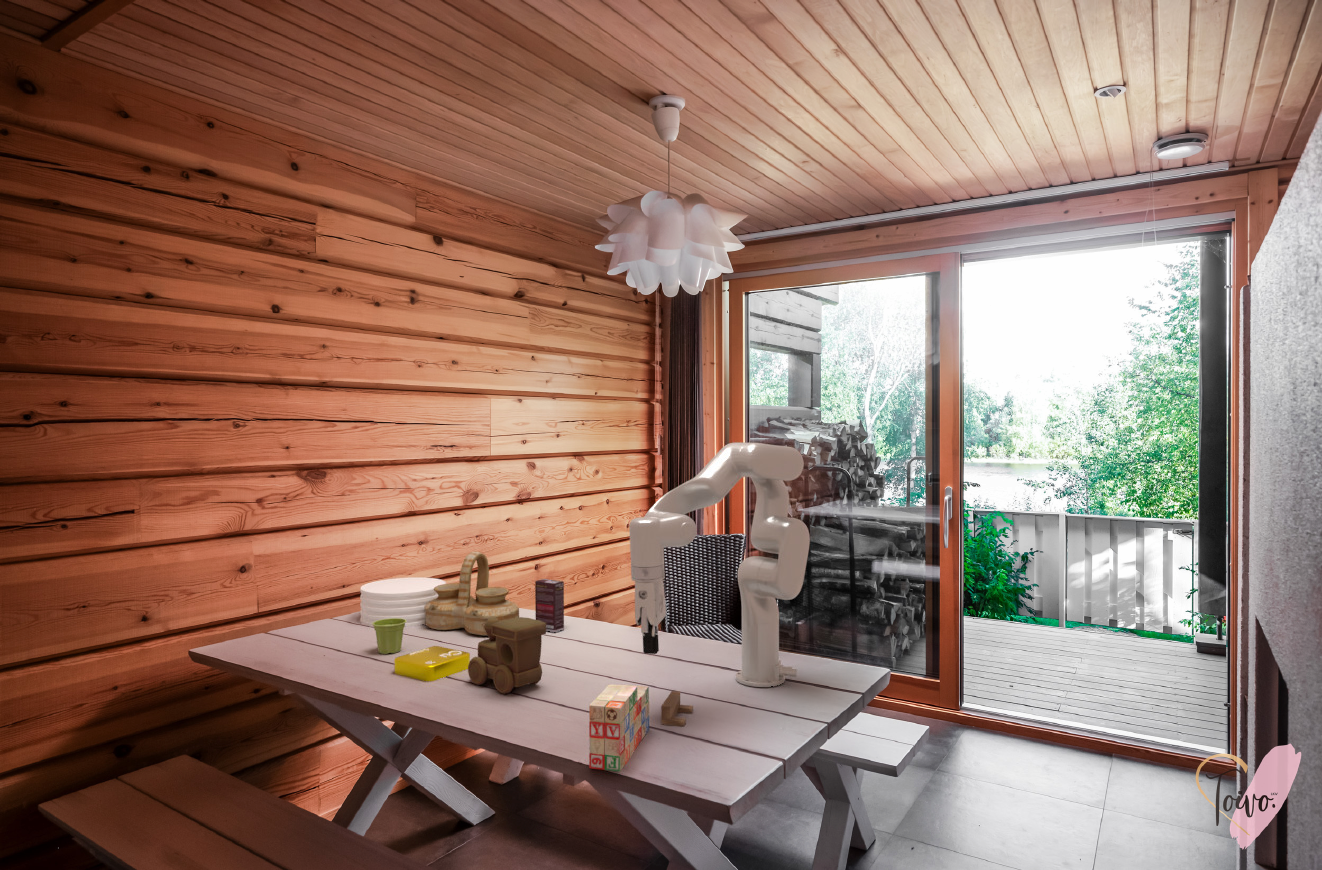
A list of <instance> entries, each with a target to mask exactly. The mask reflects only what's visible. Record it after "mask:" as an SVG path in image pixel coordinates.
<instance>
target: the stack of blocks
mask: <svg viewBox="0 0 1322 870" xmlns="http://www.w3.org/2000/svg"><path fill="white" fill-rule="evenodd" d="M649 691H650V689H649V686H646V685H645V686H644V685H630V684H612V683H611V684H608V685H607V686H606V687H605V688H604V689H603V691H602V692H601V693H600V694H599V695H598V696H597V697H596V698H595V699H594V700H593V701H592V702H591V703H590V704H589V707H588V708H589V712H588V713H589V714H588V715H589V721H588V723H589V725H588V728H589V730H588V732H589V734H588V736H589V755H588V757H589V758H588V759H589V762H588V763H589V765H588V766H589V769H594V770H602V771H603V770H604V771H610V772H611V771H613V772H621V771H622V770H623V768H624V766H625V765H626V764H627V763H628V762H629V760H630V759H631V757H632V756H633V754H634V753H635V751H634V750H636V749H637V747H638V745H639V744H640V743H639V742H642V740H643V739H644V737H645V736H646V735H645V734H647V733H648V732H649V730H650V696H649ZM633 752H634V753H633ZM629 758H630V759H629Z"/></svg>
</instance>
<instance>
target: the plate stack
mask: <svg viewBox="0 0 1322 870" xmlns="http://www.w3.org/2000/svg"><path fill="white" fill-rule="evenodd" d="M446 582H447V581H445V580H443V579H440V578H436V577H435V578H433V577H420V576H418V577H414V576H413V577H396V578H387V579H381V580H376V581H372V582H368V583H365V584H362V585H361V586H360V588H359V590H360V591H359V593H361V594H360V598H359V599H360V602H359V603H360V609H359V610H360V619H359V620H360V621H359V622H360V623H361V624H362V625H364V626H367V627H372V628H374V626H373V625H372V623H373V622H375V621H378V620H382V619H389V618H401V619H405V620H406V623H405V627H404V628H409V627H417V626H423V625H422V624H424V625H426V619H425V608H424V607H425V605H426V604H428V603H429V602H430V601H432V600H433V599H435V598H437V597H438V594H437V593H436V592H435V591H434V588H435V587H436V586H438V585H442V584H447V583H446Z"/></svg>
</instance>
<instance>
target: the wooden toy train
mask: <svg viewBox="0 0 1322 870" xmlns="http://www.w3.org/2000/svg"><path fill="white" fill-rule="evenodd" d="M484 629H485V631H486V633H487V635H486V636H487V637H488V638H487V639H484V640H481V641H479V642H478V644H477V656H474V657H472V658H470V662H469V665H468V669H467V674H468V678H469V679H470V681H471V682H472V683H473V684H475V685H478V686H481V685H483V684H484V683H485V682H486V681H487V678H488V679H491V680H493V685H494V687H495V689H496V690H497V691H498V692H499V693H500V694H503V695H504V694H505V695H508V694H510V693H511V691H512V690H513V688H520V687H523V686H526V685H534V686H536V685H537V684H538V683H539V682H540V681H541V680H542V676H543V668H542V665H541V663H540V661H541V655H542V643H543V642H542V641H543V640H542V638H543V637H542V635H546V634H547V631H546V623H545V622H542V621H539V620H536V618H535V619H534V618H530V617H522V616H521V617H520V616H519V618H512V619H508V620H503V621H499V620H498V618H489V619H488V620H487V621H486V623H485V625H484Z"/></svg>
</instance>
